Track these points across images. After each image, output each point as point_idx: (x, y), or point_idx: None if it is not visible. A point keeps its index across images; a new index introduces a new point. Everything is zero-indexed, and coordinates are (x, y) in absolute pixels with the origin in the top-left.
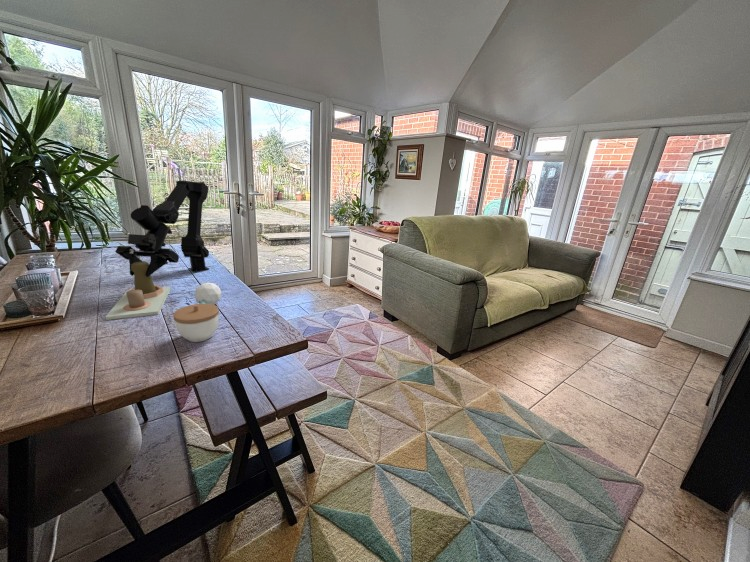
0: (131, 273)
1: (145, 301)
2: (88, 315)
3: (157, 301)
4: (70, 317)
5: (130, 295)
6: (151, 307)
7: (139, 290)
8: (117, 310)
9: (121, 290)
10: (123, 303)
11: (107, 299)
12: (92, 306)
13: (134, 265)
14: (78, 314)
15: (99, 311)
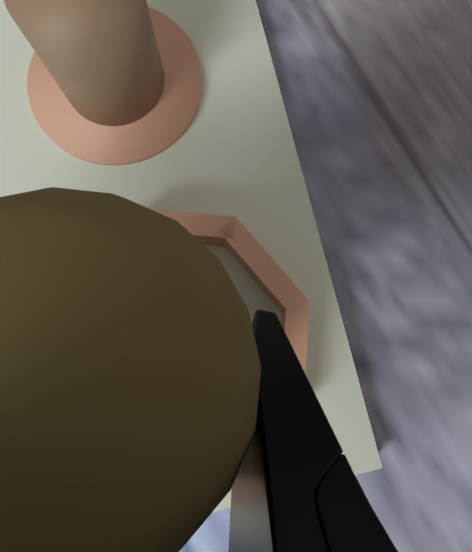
0: (253, 319)
1: (88, 153)
2: (383, 22)
3: (6, 167)
4: (468, 2)
5: None
6: (6, 55)
7: (38, 20)
8: (217, 20)
9: (463, 522)
10: (244, 142)
11: (443, 301)
12: (458, 167)
13: (91, 202)
14: (453, 42)
15: (356, 79)
